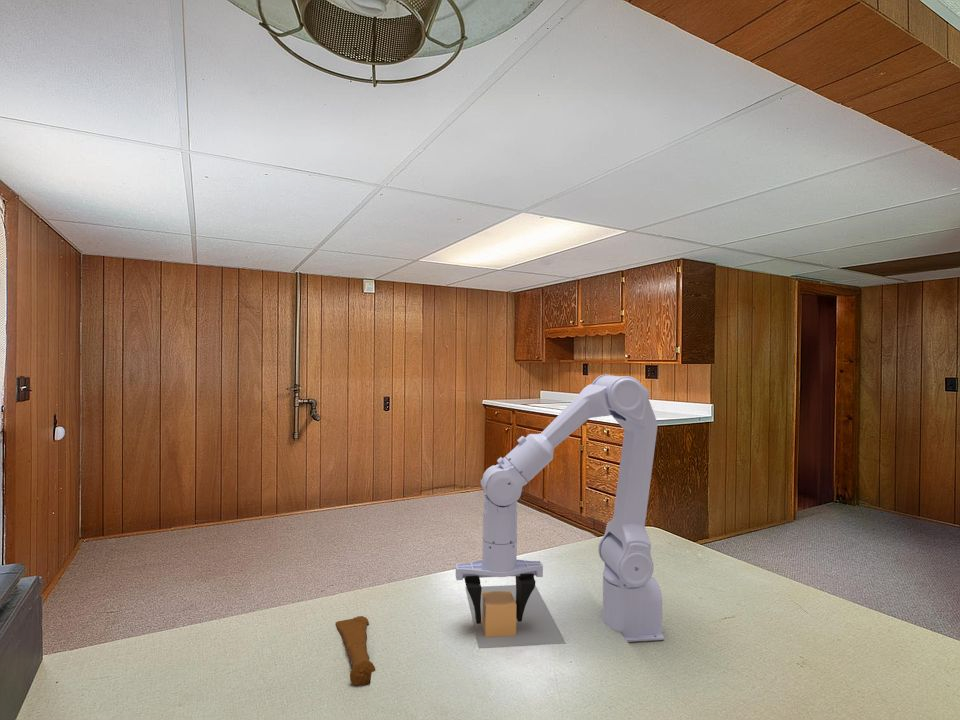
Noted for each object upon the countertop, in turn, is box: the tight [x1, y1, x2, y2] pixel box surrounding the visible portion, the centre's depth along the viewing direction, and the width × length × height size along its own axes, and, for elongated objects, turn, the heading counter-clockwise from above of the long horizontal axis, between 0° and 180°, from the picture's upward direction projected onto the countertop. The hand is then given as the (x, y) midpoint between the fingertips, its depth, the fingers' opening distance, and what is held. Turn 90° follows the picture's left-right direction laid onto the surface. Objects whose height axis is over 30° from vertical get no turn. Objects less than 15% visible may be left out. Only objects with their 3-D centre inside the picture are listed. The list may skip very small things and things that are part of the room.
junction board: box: [465, 584, 567, 649], centre depth 90 cm, size 14×21×4 cm, turn 7°
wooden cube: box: [482, 591, 516, 637], centre depth 85 cm, size 5×5×5 cm
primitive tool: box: [335, 615, 376, 687], centre depth 81 cm, size 19×6×4 cm, turn 22°
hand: (498, 619), depth 85 cm, fingers open, 6 cm apart
